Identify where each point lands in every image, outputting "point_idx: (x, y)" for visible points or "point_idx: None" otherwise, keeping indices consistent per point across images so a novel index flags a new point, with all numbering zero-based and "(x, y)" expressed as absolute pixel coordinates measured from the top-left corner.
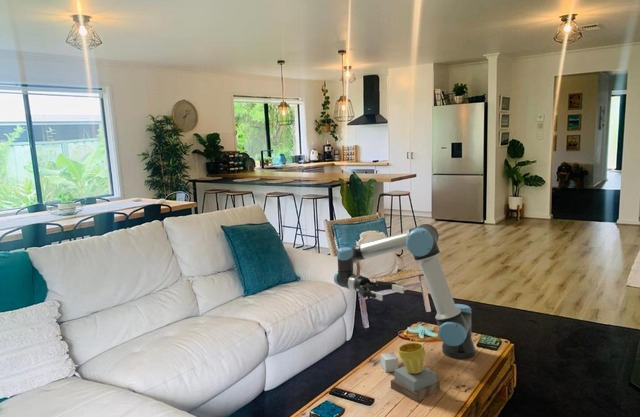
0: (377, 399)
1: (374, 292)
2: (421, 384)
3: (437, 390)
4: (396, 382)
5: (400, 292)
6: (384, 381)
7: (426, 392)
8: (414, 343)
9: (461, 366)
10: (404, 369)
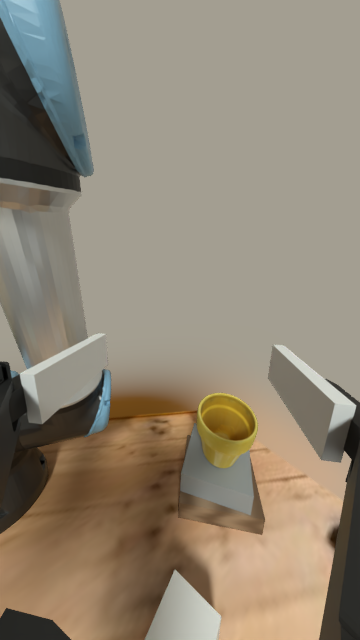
0: (319, 527)
1: (317, 373)
2: None
3: None
4: (256, 499)
5: (98, 371)
6: (259, 587)
7: None
8: (202, 420)
9: (86, 456)
10: (230, 475)
